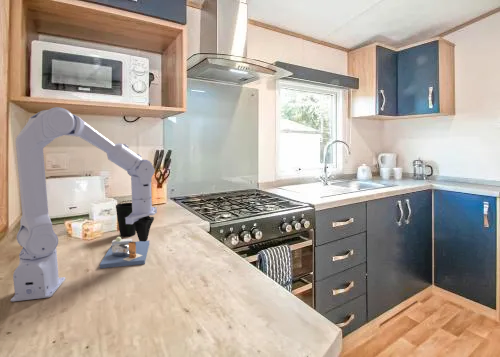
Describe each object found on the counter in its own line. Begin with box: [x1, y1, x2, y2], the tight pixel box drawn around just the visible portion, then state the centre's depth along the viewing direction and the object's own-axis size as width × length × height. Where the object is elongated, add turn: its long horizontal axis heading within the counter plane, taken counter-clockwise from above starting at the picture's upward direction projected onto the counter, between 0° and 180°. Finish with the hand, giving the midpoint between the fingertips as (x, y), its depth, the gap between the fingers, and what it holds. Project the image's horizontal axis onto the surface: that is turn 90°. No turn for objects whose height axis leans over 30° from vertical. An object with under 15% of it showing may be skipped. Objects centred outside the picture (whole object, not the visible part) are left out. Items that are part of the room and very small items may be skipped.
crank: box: [112, 241, 137, 258], centre depth 87 cm, size 9×5×4 cm, turn 60°
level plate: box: [99, 236, 150, 269], centre depth 91 cm, size 18×12×4 cm, turn 15°
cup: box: [115, 202, 137, 238], centre depth 111 cm, size 8×8×12 cm
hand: (143, 240), depth 89 cm, fingers closed
